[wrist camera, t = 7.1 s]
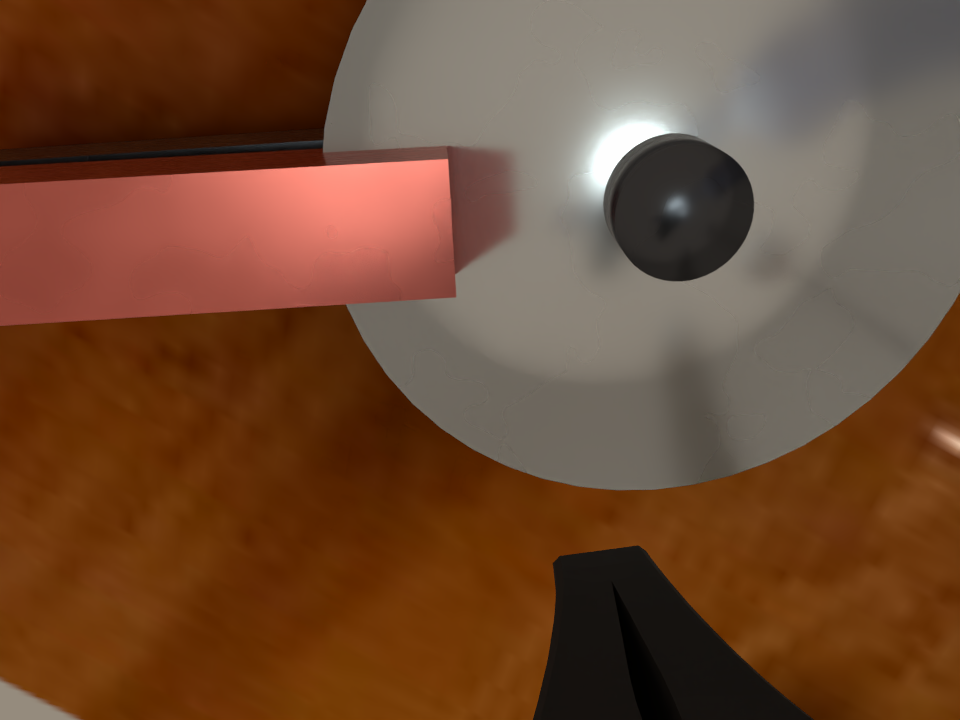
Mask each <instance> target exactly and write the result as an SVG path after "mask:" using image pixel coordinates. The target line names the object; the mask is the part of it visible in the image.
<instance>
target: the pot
mask: <svg viewBox="0 0 960 720" xmlns="http://www.w3.org/2000/svg"><path fill="white" fill-rule="evenodd" d="M323 141H324V128H321V129H306V130H291V131H276V132H260V133H245V134H230V135H215V136H200V137H184V138H169V139H154V140H139V141H124V142H108V143H93V144H78V145H63V146H48V147H32V148H17V149H2V150H0V167H1V166H19V165H37V164H55V163H73V162H91V161H108V160H126V159H144V158H162V157H180V156H198V155H216V154H234V153H252V152H270V151H288V150H306V149H323Z"/></svg>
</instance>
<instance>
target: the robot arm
mask: <svg viewBox="0 0 960 720" xmlns="http://www.w3.org/2000/svg"><path fill="white" fill-rule="evenodd" d="M553 568H554V577H555V587H556V604H555V616H554V624H553V631H552V637H551V644H550V650H549V656H548V661H547V666H546V670H545V674H544V679H543V683H542V687H541V691H540V695H539V700H538V704H537V707H536V711H535V714H534V718H533V720H814V719H812V718H811V717H810V716H808V715H807V714H806V713H805V712H803V711H802V710H801V709H800V708H798V707H797V706H796V705H795V704H793V703H792V702H791V701H790V700H788V699H787V698H786V697H785V696H784V695H782V694H781V693H780V692H779V691H778V690H777V689H775V688H774V687H773V686H772V685H771V684H770V683H769V682H767V681H766V680H765V679H764V678H763V677H762V676H761V675H760V674H758V673H757V672H756V671H755V670H754V669H753V668H752V667H751V666H750V665H749V664H748V663H747V662H745V661H744V660H743V659H742V658H741V657H740V656H739V655H738V654H737V653H736V652H735V651H734V650H733V649H732V648H731V647H730V646H729V645H728V644H727V643H726V642H725V641H724V640H723V639H722V638H721V637H720V636H719V635H718V634H717V633H716V632H715V631H714V630H713V629H712V628H711V627H710V626H709V625H708V624H707V623H706V622H705V621H704V620H703V619H702V618H701V616H700V615H699V614H698V613H697V612H696V611H695V610H694V609H693V608H692V607H691V606H690V605H689V603H688V602H687V601H686V600H685V599H684V598H683V597H682V595H681V594H680V593H679V592H678V591H677V590H676V589H675V587H674V586H673V585H672V584H671V583H670V581H669V580H668V579H667V578H666V577H665V575H664V574H663V573H662V572H661V570H660V569H659V568H658V567H657V565H656V564H655V563H654V561H653V560H652V559H651V558H650V556H649V555H648V553H647V552H646V551H645V550H644V549H642V548H641V547H640V546H632V547H624V548H617V549H609V550H602V551H594V552H587V553H579V554H572V555H564V556H559V557H558V559H557V560H556V561H555V562H554V563H553Z"/></svg>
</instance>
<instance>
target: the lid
mask: <svg viewBox="0 0 960 720" xmlns="http://www.w3.org/2000/svg"><path fill="white" fill-rule="evenodd" d="M959 292H960V0H367V2H366V4H365V6H364V7H363V9H362V11H361V13H360V15H359V17H358V19H357V21H356V23H355V25H354V27H353V29H352V31H351V34H350V37H349V40H348V42H347V45H346V48H345V51H344V54H343V57H342V60H341V62H340V65H339V68H338V71H337V74H336V77H335V80H334V84H333V89H332V94H331V99H330V103H329V108H328V113H327V118H326V123H325V128H324V141H323V149H306V150H288V151H270V152H252V153H234V154H216V155H198V156H180V157H162V158H144V159H126V160H108V161H91V162H73V163H55V164H37V165H19V166H1V167H0V326H4V325H20V324H36V323H52V322H68V321H84V320H100V319H117V318H133V317H149V316H165V315H181V314H197V313H213V312H229V311H245V310H262V309H278V308H294V307H310V306H326V305H342V304H346V306H347V308H348V310H349V312H350V314H351V316H352V318H353V320H354V322H355V324H356V326H357V328H358V330H359V332H360V334H361V336H362V338H363V340H364V342H365V343H366V345H367V346H368V348H369V349H370V351H371V352H372V354H373V355H374V357H375V358H376V360H377V361H378V362H379V364H380V365H381V367H382V368H383V370H384V371H385V373H386V374H387V375H388V377H389V378H390V379H391V380H392V381H393V382H394V383H395V384H396V386H397V387H398V388H399V389H400V390H401V391H402V392H403V393H404V395H405V396H406V397H407V398H408V399H409V400H410V401H411V402H412V404H414V405H415V406H416V407H417V408H418V409H419V410H421V411H422V412H423V413H424V414H425V415H426V416H427V417H429V418H430V419H431V420H432V421H433V422H434V423H436V424H437V425H438V426H439V427H440V428H441V429H443V430H444V431H446V432H447V433H449V434H450V435H452V436H453V437H455V438H456V439H458V440H459V441H461V442H462V443H464V444H465V445H467V446H469V447H470V448H472V449H473V450H475V451H477V452H479V453H481V454H483V455H485V456H487V457H489V458H491V459H493V460H495V461H497V462H499V463H501V464H503V465H505V466H508V467H511V468H514V469H516V470H519V471H522V472H525V473H528V474H531V475H534V476H537V477H539V478H542V479H547V480H552V481H556V482H561V483H565V484H570V485H574V486H580V487H590V488H600V489H610V490H654V489H662V488H670V487H678V486H686V485H693V484H697V483H702V482H706V481H710V480H714V479H718V478H723V477H727V476H731V475H733V474H736V473H739V472H742V471H745V470H748V469H750V468H753V467H756V466H759V465H762V464H765V463H767V462H769V461H771V460H774V459H776V458H778V457H780V456H782V455H784V454H786V453H788V452H790V451H792V450H795V449H797V448H799V447H801V446H803V445H805V444H806V443H808V442H810V441H811V440H813V439H814V438H816V437H818V436H819V435H821V434H823V433H824V432H826V431H828V430H829V429H831V428H833V427H834V426H836V425H837V424H839V423H840V422H841V421H843V420H844V419H845V418H847V417H848V416H849V415H851V414H852V413H853V412H855V411H856V410H857V409H859V408H860V407H861V406H862V405H864V404H865V403H866V402H868V401H869V400H870V399H871V398H872V397H874V396H875V395H876V394H877V393H878V392H879V391H880V390H881V389H882V388H883V387H884V386H885V385H886V384H887V383H889V382H890V381H891V380H892V379H893V378H894V377H895V376H896V375H897V374H898V373H899V372H900V371H901V370H902V369H903V368H904V367H905V366H906V364H907V363H908V362H909V361H910V360H911V359H912V357H913V356H914V355H915V354H916V353H917V352H918V351H919V349H920V348H921V347H922V346H923V345H924V344H925V342H926V341H927V340H928V339H929V338H930V336H931V335H932V333H933V332H934V330H935V329H936V328H937V326H938V325H939V323H940V322H941V320H942V319H943V318H944V316H945V315H946V313H947V312H948V310H949V309H950V308H951V306H952V305H953V303H954V301H955V300H956V298H957V296H958V294H959Z"/></svg>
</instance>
